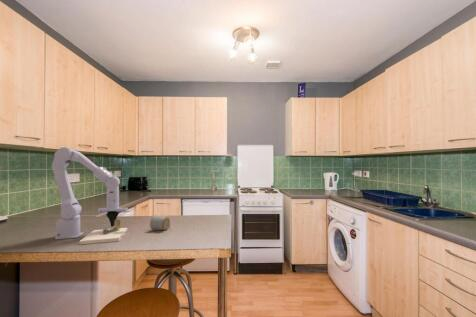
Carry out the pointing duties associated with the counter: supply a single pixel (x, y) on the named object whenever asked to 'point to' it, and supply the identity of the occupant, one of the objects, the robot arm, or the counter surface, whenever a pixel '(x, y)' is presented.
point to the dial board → (103, 236)
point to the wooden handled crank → (116, 226)
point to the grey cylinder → (159, 222)
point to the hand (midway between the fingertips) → (112, 226)
